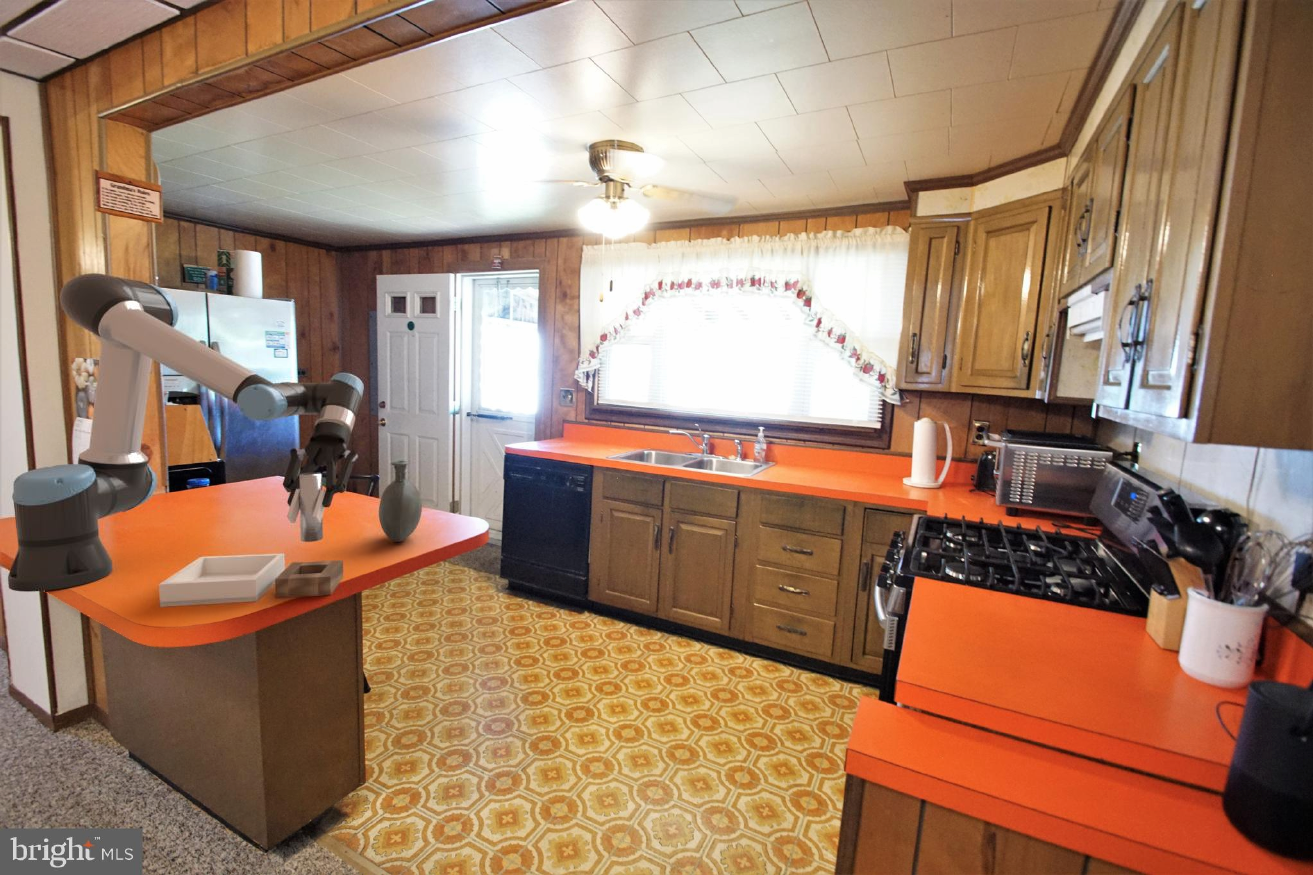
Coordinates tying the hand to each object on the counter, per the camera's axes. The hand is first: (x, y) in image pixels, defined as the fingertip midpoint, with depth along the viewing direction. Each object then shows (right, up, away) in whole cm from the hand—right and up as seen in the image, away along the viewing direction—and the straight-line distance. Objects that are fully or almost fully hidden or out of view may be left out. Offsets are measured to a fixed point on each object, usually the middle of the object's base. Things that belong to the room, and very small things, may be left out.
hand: (303, 519), depth 115 cm
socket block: (-2, -15, +6) cm, 16 cm away
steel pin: (-1, -5, +4) cm, 6 cm away
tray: (-18, -15, +3) cm, 23 cm away
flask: (+2, -12, +40) cm, 41 cm away
